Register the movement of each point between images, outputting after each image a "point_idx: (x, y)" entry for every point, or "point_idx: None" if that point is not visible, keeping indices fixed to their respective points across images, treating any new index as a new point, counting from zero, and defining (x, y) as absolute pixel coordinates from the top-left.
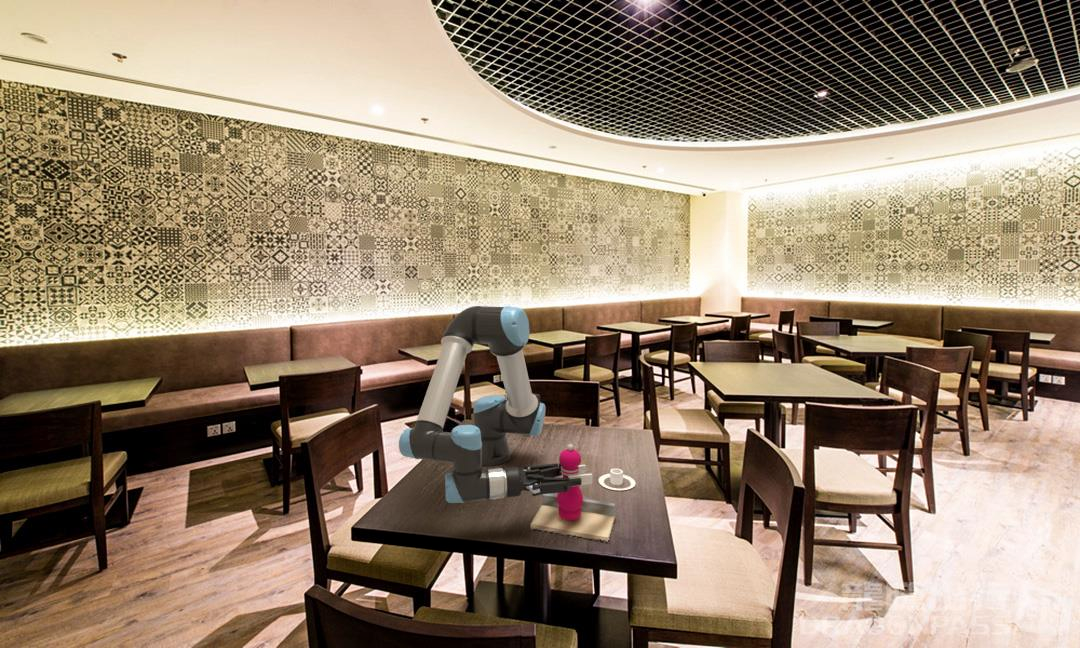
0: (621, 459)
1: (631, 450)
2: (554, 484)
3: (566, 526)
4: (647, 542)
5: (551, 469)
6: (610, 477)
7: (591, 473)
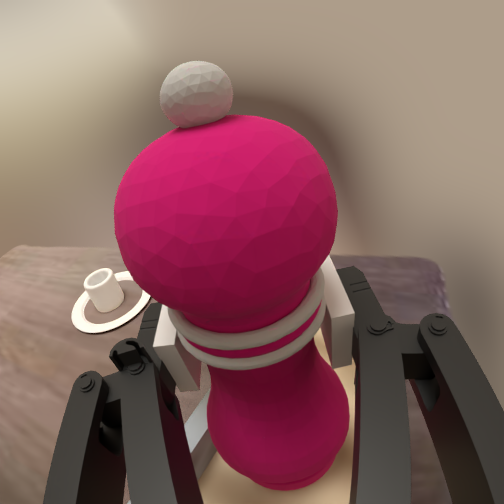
0: (46, 280)
1: (37, 263)
2: (501, 411)
3: (351, 467)
4: (385, 279)
5: (160, 442)
6: (99, 301)
7: None
